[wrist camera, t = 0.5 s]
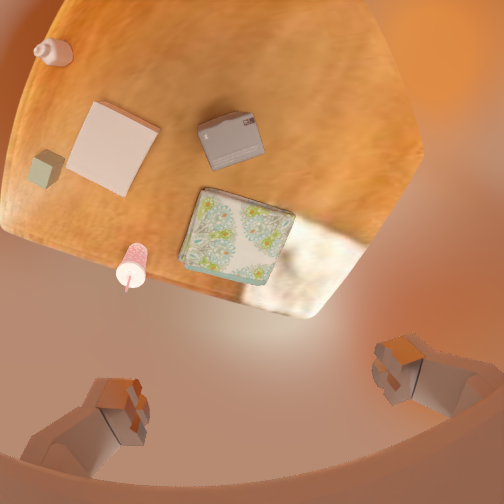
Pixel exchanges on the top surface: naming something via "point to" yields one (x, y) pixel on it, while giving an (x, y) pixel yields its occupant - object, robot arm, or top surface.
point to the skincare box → (230, 139)
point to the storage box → (111, 147)
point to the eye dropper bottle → (54, 52)
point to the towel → (235, 237)
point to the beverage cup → (133, 266)
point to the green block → (45, 169)
